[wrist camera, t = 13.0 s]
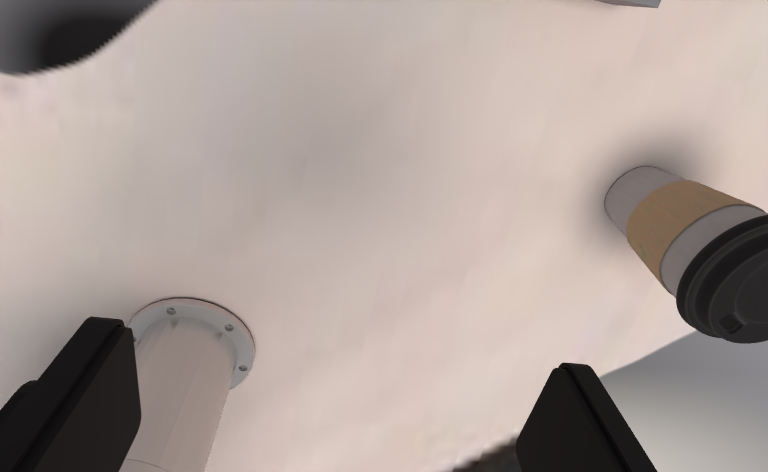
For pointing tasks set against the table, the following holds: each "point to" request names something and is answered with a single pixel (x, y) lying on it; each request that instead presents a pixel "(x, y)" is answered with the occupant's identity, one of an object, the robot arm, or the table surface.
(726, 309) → the coffee cup
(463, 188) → the table surface
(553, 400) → the robot arm
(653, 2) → the bar
